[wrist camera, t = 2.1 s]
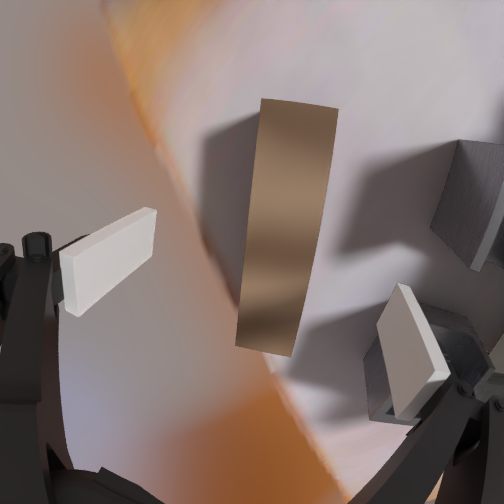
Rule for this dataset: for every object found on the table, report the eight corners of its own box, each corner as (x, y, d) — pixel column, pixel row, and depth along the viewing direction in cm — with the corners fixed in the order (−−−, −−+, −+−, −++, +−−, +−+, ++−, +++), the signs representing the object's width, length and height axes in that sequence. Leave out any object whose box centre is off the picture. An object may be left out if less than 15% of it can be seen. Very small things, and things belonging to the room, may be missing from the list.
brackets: (458, 139, 16) (512, 146, 10) (561, 208, 15) (607, 234, 8) (363, 359, 24) (369, 420, 18) (469, 380, 23) (487, 429, 17)
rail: (274, 106, 19) (261, 98, 14) (333, 115, 18) (338, 109, 13) (250, 308, 25) (235, 345, 20) (297, 317, 24) (290, 357, 20)
